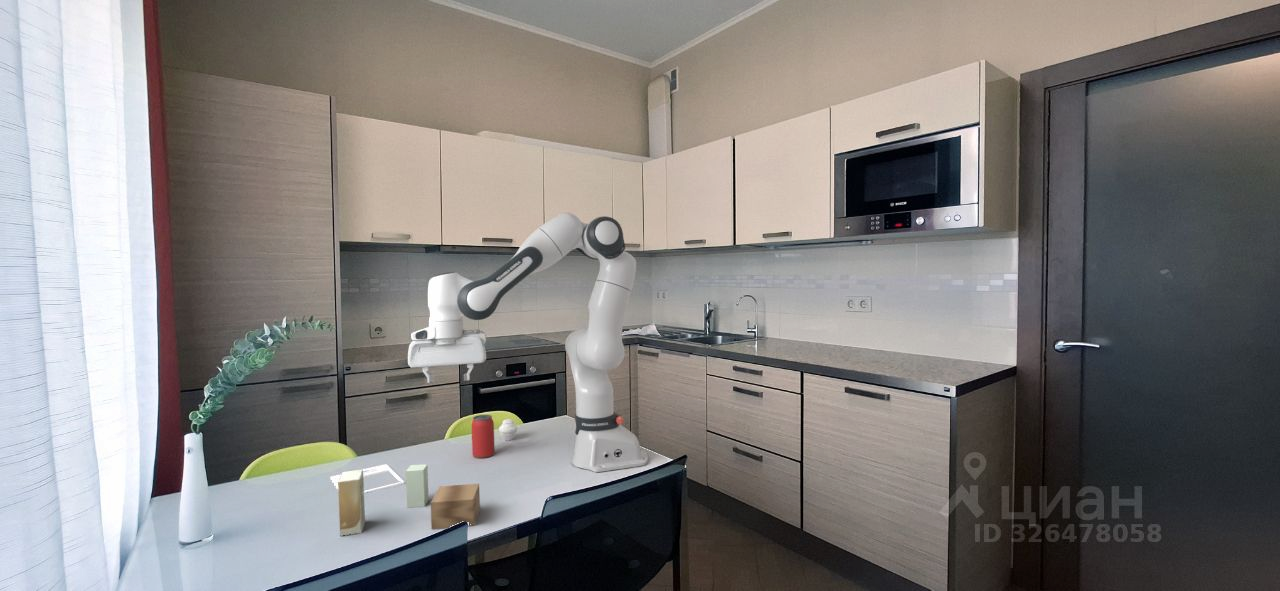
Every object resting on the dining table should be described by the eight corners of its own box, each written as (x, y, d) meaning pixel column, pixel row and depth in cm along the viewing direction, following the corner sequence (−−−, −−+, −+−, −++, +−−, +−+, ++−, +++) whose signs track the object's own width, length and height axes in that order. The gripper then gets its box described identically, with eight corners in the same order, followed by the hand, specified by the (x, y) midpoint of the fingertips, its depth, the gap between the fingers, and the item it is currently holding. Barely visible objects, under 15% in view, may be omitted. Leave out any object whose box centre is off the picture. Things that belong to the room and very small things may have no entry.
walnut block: (479, 508, 127) (479, 483, 127) (473, 525, 118) (472, 499, 118) (440, 511, 126) (439, 486, 126) (431, 529, 117) (430, 502, 117)
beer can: (497, 451, 168) (496, 414, 167) (489, 459, 161) (488, 420, 161) (477, 451, 168) (476, 414, 168) (469, 458, 162) (467, 419, 161)
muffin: (520, 436, 183) (519, 416, 183) (513, 442, 177) (513, 421, 177) (503, 436, 184) (502, 416, 184) (495, 441, 178) (495, 421, 178)
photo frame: (386, 463, 157) (404, 481, 143) (386, 467, 157) (404, 485, 143) (330, 476, 148) (343, 496, 134) (330, 480, 148) (343, 500, 134)
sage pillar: (428, 499, 133) (427, 464, 132) (424, 506, 129) (423, 470, 128) (411, 500, 132) (410, 465, 132) (407, 508, 128) (405, 471, 128)
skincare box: (344, 524, 120) (342, 471, 120) (365, 520, 122) (363, 468, 121) (339, 537, 114) (336, 481, 114) (361, 533, 116) (359, 478, 115)
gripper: (486, 328, 151) (489, 377, 151) (410, 333, 148) (413, 382, 148) (484, 329, 145) (486, 380, 145) (404, 334, 141) (407, 386, 141)
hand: (449, 381), depth 146 cm, fingers open, 8 cm apart
